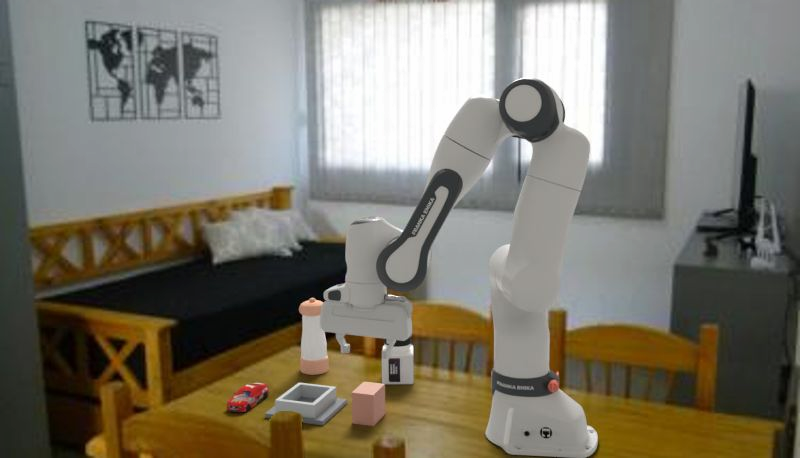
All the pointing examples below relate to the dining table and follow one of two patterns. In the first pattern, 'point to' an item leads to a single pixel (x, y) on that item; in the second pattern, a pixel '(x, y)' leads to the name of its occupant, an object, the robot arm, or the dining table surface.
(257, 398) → the race car
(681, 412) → the dining table surface
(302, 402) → the square socket base
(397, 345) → the container
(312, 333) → the salt shaker
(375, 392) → the pink upright box
